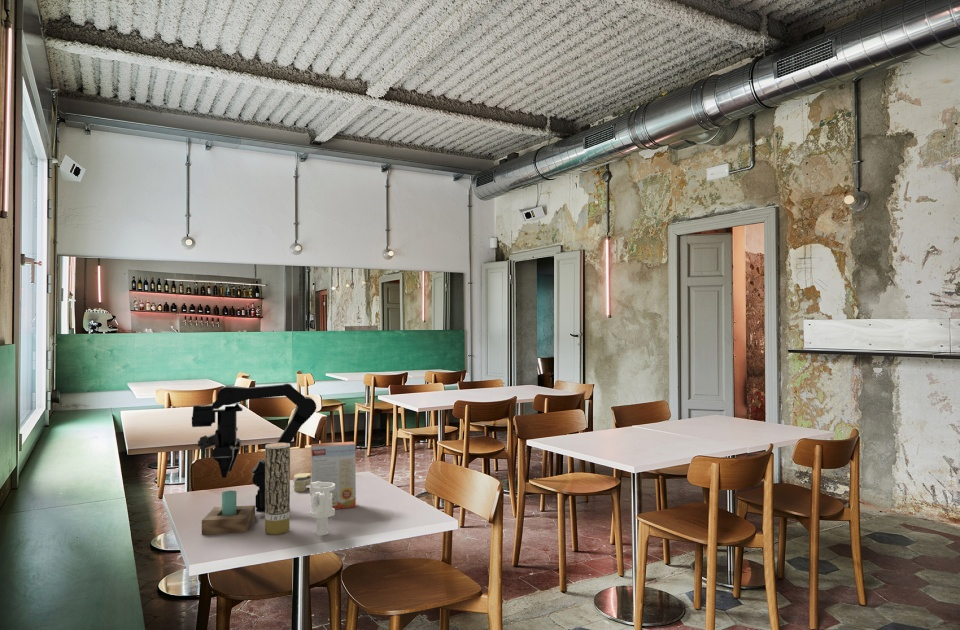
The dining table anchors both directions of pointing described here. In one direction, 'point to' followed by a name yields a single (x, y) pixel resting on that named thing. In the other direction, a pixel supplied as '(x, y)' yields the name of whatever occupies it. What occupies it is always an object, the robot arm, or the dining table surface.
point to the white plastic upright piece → (321, 505)
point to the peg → (229, 503)
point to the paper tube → (277, 488)
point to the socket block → (228, 520)
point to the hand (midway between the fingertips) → (226, 474)
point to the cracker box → (336, 471)
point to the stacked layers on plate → (301, 481)
